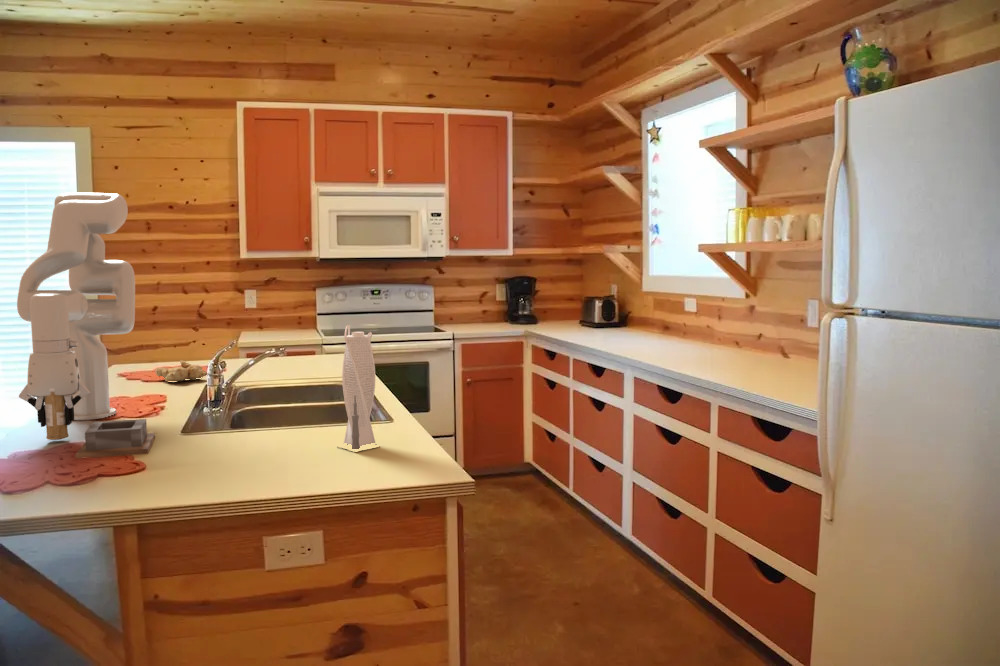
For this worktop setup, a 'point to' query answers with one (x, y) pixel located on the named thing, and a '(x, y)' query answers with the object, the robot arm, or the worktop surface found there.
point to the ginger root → (181, 372)
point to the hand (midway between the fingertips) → (56, 423)
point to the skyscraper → (358, 387)
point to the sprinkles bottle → (55, 416)
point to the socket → (116, 439)
